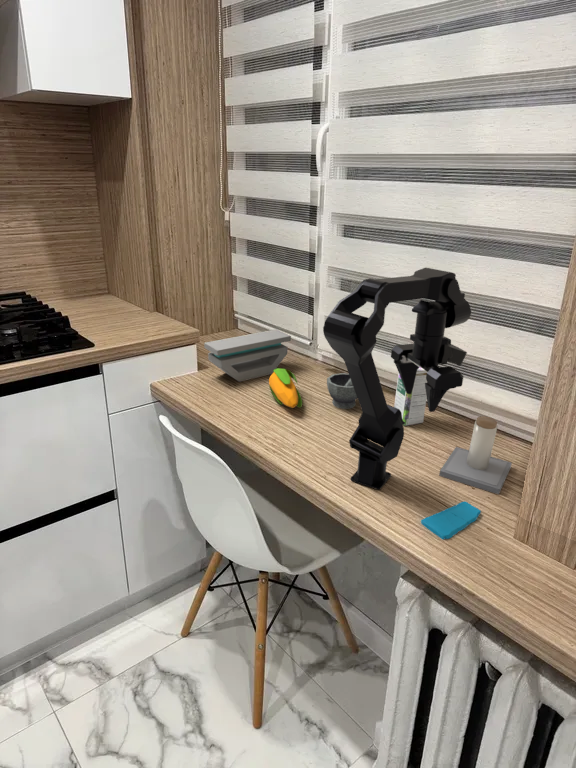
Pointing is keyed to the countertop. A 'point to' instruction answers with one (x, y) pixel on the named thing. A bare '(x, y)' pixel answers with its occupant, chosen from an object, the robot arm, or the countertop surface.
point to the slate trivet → (476, 471)
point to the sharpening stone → (249, 354)
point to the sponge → (451, 520)
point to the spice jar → (482, 442)
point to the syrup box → (412, 399)
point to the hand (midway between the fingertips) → (419, 402)
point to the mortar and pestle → (341, 390)
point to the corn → (284, 388)
